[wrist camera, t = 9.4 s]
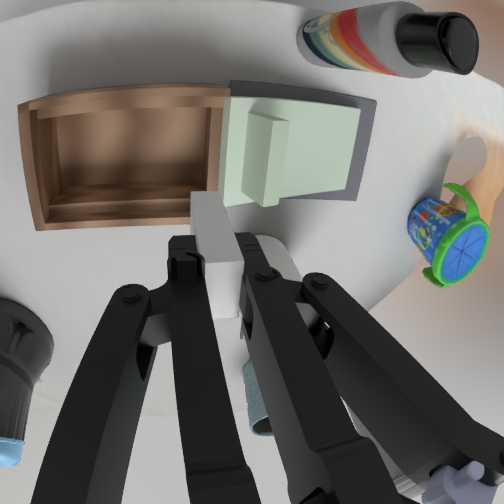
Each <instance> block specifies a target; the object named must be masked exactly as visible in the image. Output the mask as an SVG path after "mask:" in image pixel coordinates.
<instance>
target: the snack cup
mask: <svg viewBox="0 0 504 504" xmlns="http://www.w3.org/2000/svg"><path fill="white" fill-rule="evenodd" d="M443 186H444V187H446V188H449V189H450V190H451V191H453V192H454V193H455V194H457V195H458V196H459V197H461V198H462V199H463V200H464V201H465V205H466V209H467V213H465V212H464V211H462V210H459V209H458V208H456V207H454V206H451V205H450V204H447V203H445V202H444V201H442V200H439V199H436V198H432V197H429V198H427V199H426V200H424V201H422V202H420V203H419V204H418V205H417V206H416V208H415V209H413V210H412V212H411V216H410V218H409V221H408V234H409V235H410V237H411V239H412V240H413V242H414V243H415V244H416V246H417V247H418V249H419V250H420V252H421V253H422V255H423V256H424V257H425V259H426V260H427V261H428V262H429V263H430V265H431V267H427V268H424V269H423V271H422V273H423V274H424V276H425V277H426V279H428V280H429V281H430V282H431V283H433V284H434V285H435V286H438V287H440V288H444V287H447V286H450V285H452V284H455V283H457V282H459V281H461V280H462V279H464V278H465V277H467V276H468V275H469V274H470V273H471V272H472V271H473V270H474V269H475V267H476V266H477V265H478V263H479V262H480V261H481V259H482V257H483V255H484V253H485V251H486V248H487V246H488V242H489V228H488V225H487V224H486V223H485V222H484V221H483V220H482V219H481V218H480V214H479V210H478V207H477V204H476V202H475V200H474V199H473V197H472V196H471V195H470V193H469V192H468V191H467V190H466V189H465V188H464V187H462V186H461V185H458V184H453V183H448V184H444V185H443Z"/></svg>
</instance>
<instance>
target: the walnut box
mask: <svg viewBox="0 0 504 504" xmlns="http://www.w3.org/2000/svg"><path fill="white" fill-rule="evenodd" d="M224 97H230V88H228V87H225V86H223V85H221V84H143V85H127V86H114V87H103V88H94V89H86V90H78V91H71V92H64V93H58V94H52V95H47V96H44V97H41V98H37V99H34V100H31V101H28V102H25V103H22V104H19V105H18V122H19V134H20V144H21V153H22V160H23V168H24V174H25V180H26V186H27V192H28V197H29V202H30V207H31V212H32V217H33V221H34V225H35V229H36V231H44V230H61V229H79V228H100V227H122V226H148V225H180V224H190V211H191V191H218V179H219V163H220V148H221V134H222V121H223V108H224Z"/></svg>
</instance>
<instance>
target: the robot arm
mask: <svg viewBox="0 0 504 504" xmlns="http://www.w3.org/2000/svg"><path fill="white" fill-rule="evenodd" d="M168 254H169V257H168V260H167V269H168V280H167V282H166V283H165V284H164V285H162V286H161V287H159V288H156V289H154V290H150V291H148V289H147V288H146V287H144V286H143V285H139V284H128V285H124V286H122V287H120V288H118V289H117V290H116V291H115V292H114V294H113V296H112V298H111V300H110V302H109V303H108V305H107V307H106V309H105V311H104V313H103V315H102V317H101V319H100V322H99V324H98V326H97V328H96V330H95V332H94V334H93V336H92V338H91V340H90V343H89V345H88V347H87V349H86V351H85V353H84V356H83V358H82V360H81V362H80V365H79V367H78V369H77V372H76V374H75V376H74V379H73V381H72V383H71V386H70V388H69V391H68V393H67V395H66V398H65V400H64V403H63V406H62V408H61V411H60V413H59V416H58V419H57V421H56V424H55V427H54V430H53V432H52V435H51V438H50V441H49V444H48V447H47V450H46V453H45V456H44V459H43V462H42V465H41V468H40V472H39V475H38V478H37V482H36V485H35V489H34V492H33V496H32V500H31V503H30V504H121V501H122V495H123V490H124V485H125V479H126V475H127V470H128V465H129V461H130V456H131V452H132V447H133V442H134V438H135V434H136V430H137V425H138V421H139V417H140V413H141V409H142V405H143V401H144V397H145V393H146V389H147V386H148V382H149V378H150V374H151V371H152V367H153V363H154V360H155V356H156V352H157V348H158V345H160V344H163V343H167V342H170V341H171V345H172V358H173V370H174V382H175V392H176V401H177V410H178V419H179V427H180V434H181V442H182V449H183V456H184V463H185V469H186V480H187V487H188V493H189V498H190V504H261V501H260V498H259V494H258V491H257V487H256V483H255V480H254V477H253V474H252V472H251V469H250V468H249V466H247V464H246V461H245V459H244V455H243V451H242V447H241V443H240V439H239V435H238V432H237V427H236V424H235V419H234V415H233V410H232V406H231V402H230V398H229V393H228V389H227V385H226V380H225V376H224V371H223V366H222V362H221V357H220V352H219V348H218V343H217V338H216V333H215V328H214V323H213V319H222V318H235V317H239V312H240V310H241V313H242V323H241V333H240V339H243V335H244V337H245V340H246V344H247V347H248V351H249V354H250V358H251V361H252V364H253V368H254V371H255V375H256V378H257V381H258V385H259V388H260V392H261V395H262V398H263V402H264V405H265V408H266V411H267V415H268V418H269V421H270V424H271V428H272V431H273V434H274V437H275V440H276V444H277V447H278V450H279V453H280V456H281V460H282V462H283V466H284V469H285V471H286V475H287V480H288V495H289V498H290V502H291V504H420V503H418V502H416V501H414V500H411V499H410V498H408V497H406V496H404V495H402V494H400V493H398V491H397V489H396V486H395V484H394V482H393V480H392V478H391V476H390V474H389V471H388V469H387V467H386V465H385V463H384V461H383V459H382V457H381V455H380V452H379V450H378V448H377V447H376V445H375V443H374V442H373V441H372V440H371V439H370V438H369V437H364V436H360V435H359V434H358V433H357V431H356V429H355V427H354V425H353V423H352V421H351V418H350V417H349V414H348V412H347V410H346V408H345V406H344V404H343V401H342V399H341V397H342V398H343V400H344V401H345V402H346V404H347V405H348V406H349V407H350V409H351V410H352V411H353V412H354V414H355V415H356V416H357V417H358V419H359V420H360V421H361V422H362V424H363V425H364V426H365V427H366V428H367V430H368V431H369V432H370V433H371V435H372V436H373V437H374V438H375V439H376V441H377V442H378V443H379V444H380V446H381V447H382V448H383V449H384V450H385V452H386V453H387V454H388V455H389V456H390V458H391V459H392V460H393V461H394V463H395V464H396V465H397V466H398V467H399V468H400V469H401V471H402V472H403V473H404V474H405V475H406V476H407V477H408V478H409V479H411V480H412V481H413V482H414V483H415V484H417V485H418V486H420V487H421V488H423V489H425V490H426V491H425V492H424V493H423V494H422V502H423V504H492V501H493V498H494V496H495V493H496V490H497V487H498V486H499V485H500V484H501V483H502V482H504V437H503V436H501V435H499V434H497V433H495V432H494V431H492V430H490V429H489V428H487V427H485V426H483V425H481V424H480V423H478V422H476V421H474V420H473V419H472V418H471V417H470V416H469V414H468V413H467V412H466V411H465V410H464V409H463V408H462V407H461V406H460V405H459V404H458V403H457V402H456V401H455V400H454V399H453V397H452V396H450V394H449V393H448V392H447V391H446V390H445V389H444V388H443V387H442V386H441V385H440V384H439V383H438V382H437V381H436V380H435V379H434V378H433V377H432V376H431V375H430V374H429V373H428V372H427V371H426V370H425V369H424V368H423V367H422V366H421V365H420V363H419V362H417V360H416V359H415V358H414V357H413V356H412V355H411V354H410V353H409V352H408V351H407V350H406V349H405V348H404V347H403V346H402V345H401V344H399V342H398V341H397V340H396V339H395V338H394V337H392V336H391V334H390V333H388V331H386V330H385V329H384V328H383V327H382V326H381V325H380V324H379V323H378V322H377V321H376V320H375V319H374V318H373V317H372V316H371V315H370V314H369V313H368V312H367V311H366V310H365V309H364V308H363V307H362V306H361V305H360V304H359V303H358V302H357V301H356V300H355V299H354V298H352V297H351V296H350V295H349V294H348V293H347V292H346V291H345V290H344V289H343V288H342V287H341V286H340V285H339V284H338V283H337V282H336V281H335V280H334V279H332V278H331V277H329V276H328V275H325V274H323V273H317V272H314V273H309V274H307V275H305V276H304V278H303V280H302V282H300V281H293V280H288V279H284V278H283V277H282V275H281V273H280V272H279V271H278V270H277V269H275V268H273V267H270V265H269V263H268V260H267V258H266V256H265V254H264V252H263V251H262V248H261V246H260V243H259V241H258V239H257V238H256V237H255V236H254V235H253V234H251V233H250V232H244V233H234V231H233V228H232V226H231V223H230V220H229V217H228V215H227V212H226V209H225V206H224V203H223V201H222V198H221V195H220V192H219V191H191V211H190V235H180V236H172V238H171V239H170V240H169V242H168ZM325 322H326V323H327V324H328V325H329V326H330V328H329V327H328V326H326V324H325ZM53 350H54V343H53V339H52V336H51V334H50V332H49V331H48V329H47V328H46V326H45V325H44V324H43V323H42V322H41V320H40V319H39V318H37V317H36V316H35V315H34V314H33V313H32V312H30V311H29V310H27V309H26V308H24V307H22V306H21V305H19V304H17V303H14V302H12V301H9V300H6V299H0V467H7V468H9V467H10V468H11V467H15V466H17V465H18V464H19V462H20V459H21V454H22V449H23V445H24V444H25V442H24V437H25V430H26V424H27V418H28V412H29V407H30V402H31V397H32V392H33V388H34V385H35V383H36V382H37V380H38V379H39V377H40V376H41V374H42V373H43V371H44V369H45V368H46V367H47V366H48V365H49V363H50V361H51V358H52V354H53ZM340 396H341V397H340Z"/></svg>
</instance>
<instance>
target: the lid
mask: <svg viewBox="0 0 504 504" xmlns="http://www.w3.org/2000/svg"><path fill="white" fill-rule="evenodd" d="M360 111H361V109H358V108H354V107H349V106H342V105H335V104H328V103H320V102H311V101H302V100H291V99H279V98H264V97H243V96H230V97H224V108H223V121H222V134H221V148H220V163H219V179H218V191H219V192H220V195H221V198H222V201H223V203H224V206H225V207H227V206H233V205H239V204H245V203H252V202H256V203H257V204H259V205H260V206H261V207H268V206H274V205H278V204H279V198H284V197H291V196H298V195H305V194H312V193H319V192H327V191H335V190H342V189H345V187H346V182H347V177H348V173H349V168H350V163H351V159H352V154H353V149H354V144H355V138H356V133H357V128H358V122H359V117H360Z"/></svg>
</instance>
